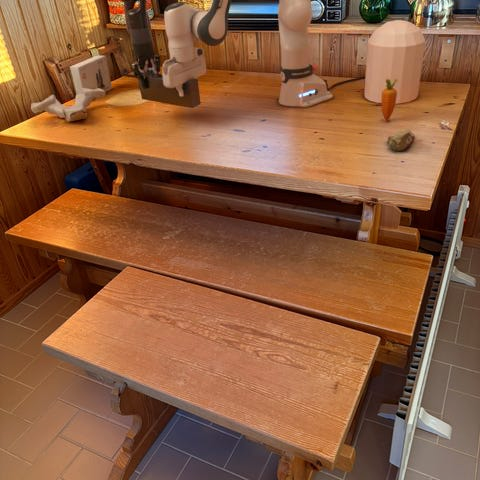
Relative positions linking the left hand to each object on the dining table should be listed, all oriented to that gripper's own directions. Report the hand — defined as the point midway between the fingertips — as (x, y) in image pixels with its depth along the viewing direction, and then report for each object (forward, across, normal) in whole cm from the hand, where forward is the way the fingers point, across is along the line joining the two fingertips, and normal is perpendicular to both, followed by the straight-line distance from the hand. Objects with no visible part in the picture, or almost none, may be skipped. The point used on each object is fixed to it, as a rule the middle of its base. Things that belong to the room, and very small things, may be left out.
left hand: (150, 86), depth 181 cm
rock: (+12, -14, +96) cm, 98 cm away
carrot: (+13, -33, +84) cm, 91 cm away
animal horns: (+13, +16, -33) cm, 39 cm away
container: (+13, -60, +75) cm, 97 cm away
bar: (+5, 0, +10) cm, 11 cm away
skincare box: (+13, -12, -52) cm, 55 cm away
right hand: (0, 0, +19) cm, 19 cm away
